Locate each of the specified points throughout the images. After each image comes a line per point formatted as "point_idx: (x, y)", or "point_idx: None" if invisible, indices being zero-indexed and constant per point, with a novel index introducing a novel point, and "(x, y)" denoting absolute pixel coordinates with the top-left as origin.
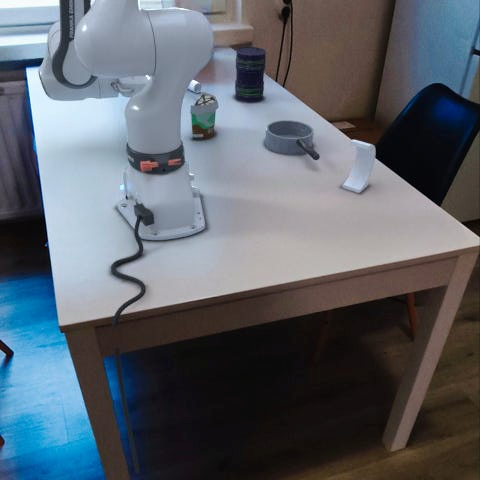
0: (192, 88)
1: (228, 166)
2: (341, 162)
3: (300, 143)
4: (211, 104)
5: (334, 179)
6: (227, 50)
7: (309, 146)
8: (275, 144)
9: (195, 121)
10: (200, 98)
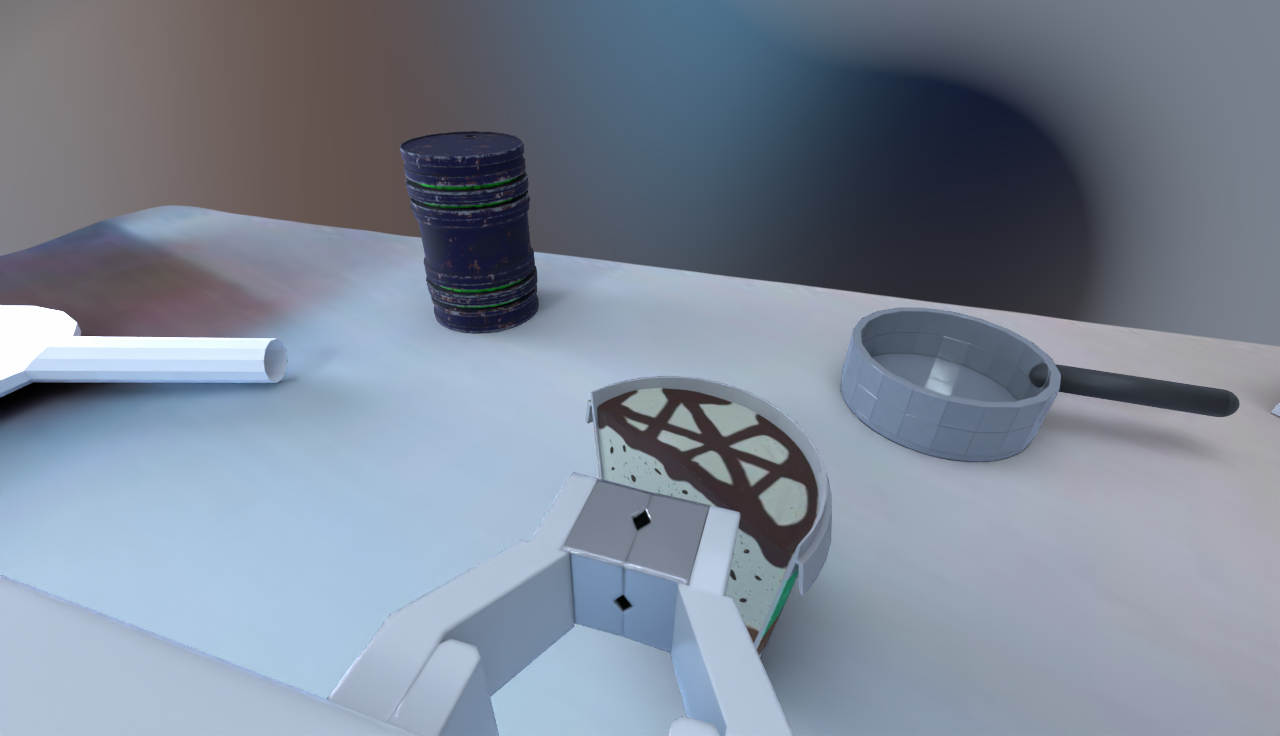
0: (253, 374)
1: (1205, 722)
2: (1105, 370)
3: (1090, 383)
4: (806, 440)
5: (1276, 441)
6: (156, 207)
7: (1146, 378)
8: (1011, 435)
9: (785, 600)
10: (643, 434)
